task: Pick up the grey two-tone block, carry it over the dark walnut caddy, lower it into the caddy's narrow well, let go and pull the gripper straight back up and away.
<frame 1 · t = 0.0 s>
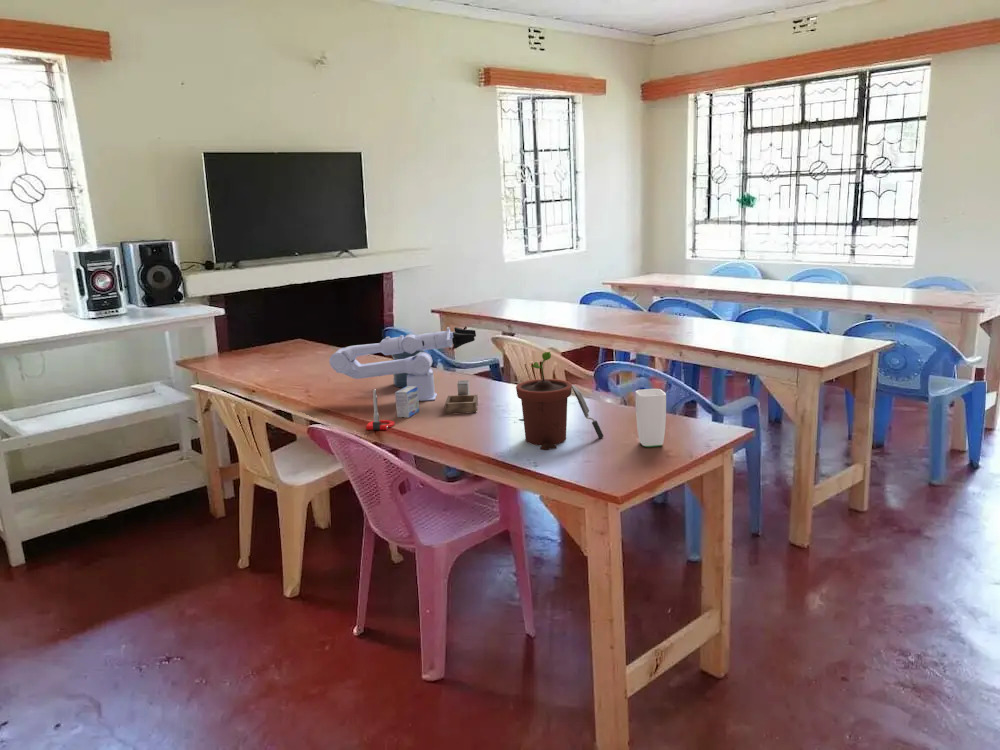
hand: (474, 335, 271), 22 cm above the table, tool horizontal, fingers open, 7 cm apart
canister: (411, 384, 298), on the table
potted plant: (555, 440, 223), on the table
grey two-tone block: (464, 401, 269), on the table
cup: (651, 445, 216), on the table
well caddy: (462, 409, 260), on the table
tow hook: (380, 427, 246), on the table
medicine box: (408, 415, 257), on the table
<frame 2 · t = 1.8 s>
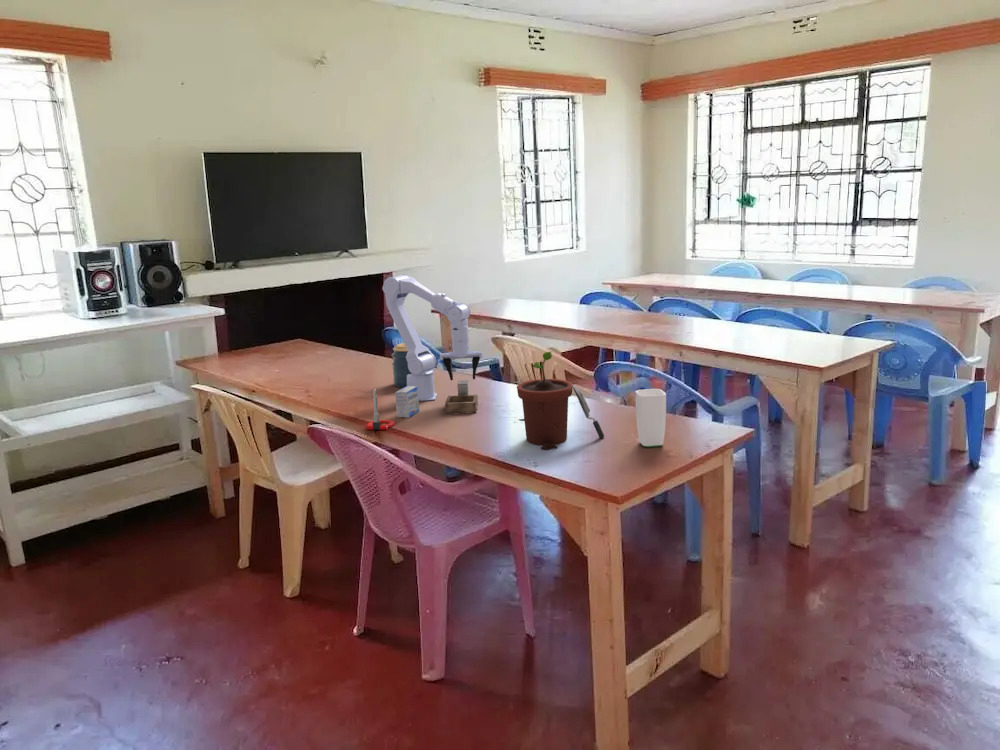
hand: (462, 379, 267), 8 cm above the table, tool pointing down, fingers open, 7 cm apart
nothing on the table moved.
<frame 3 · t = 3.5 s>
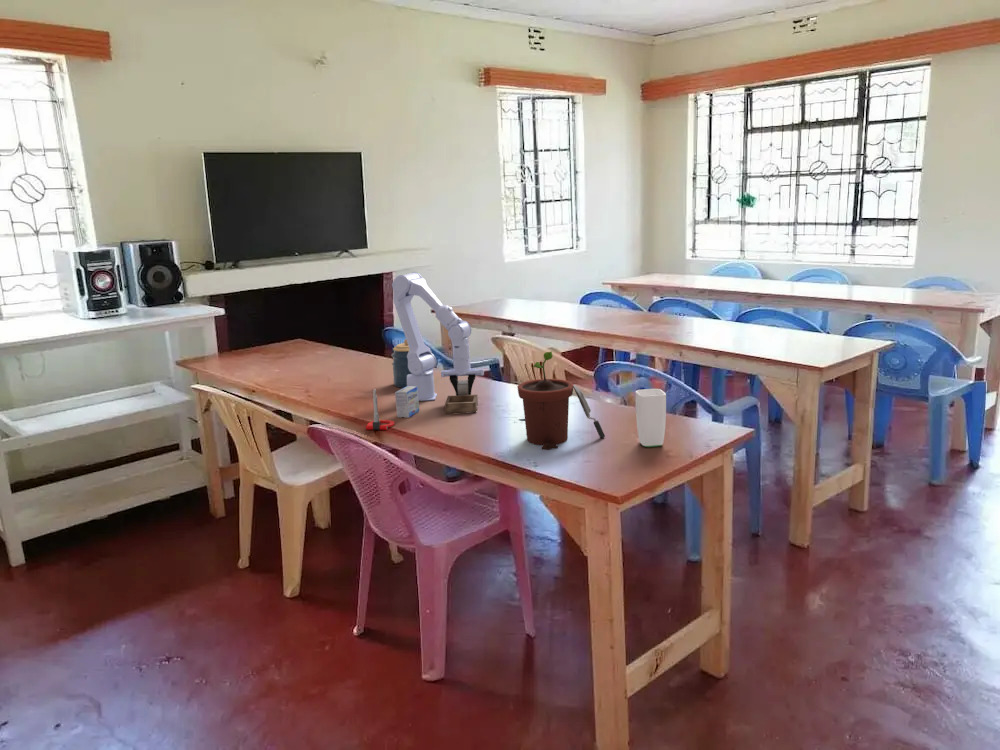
hand: (463, 396, 269), 2 cm above the table, tool pointing down, fingers closed on grey two-tone block, 3 cm apart
grey two-tone block: (464, 401, 269), on the table, touching gripper
everything else where it was.
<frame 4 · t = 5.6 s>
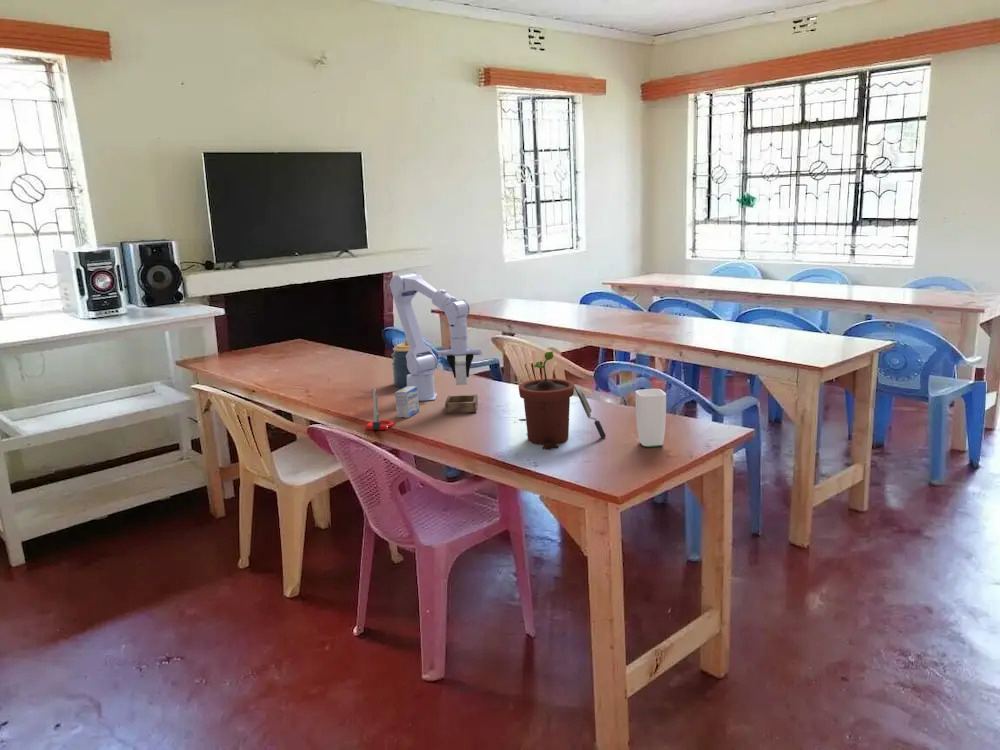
hand: (461, 377, 262), 10 cm above the table, tool pointing down, fingers closed on grey two-tone block, 3 cm apart
grey two-tone block: (462, 383, 263), point 8 cm above the table, touching gripper
everything else where it was.
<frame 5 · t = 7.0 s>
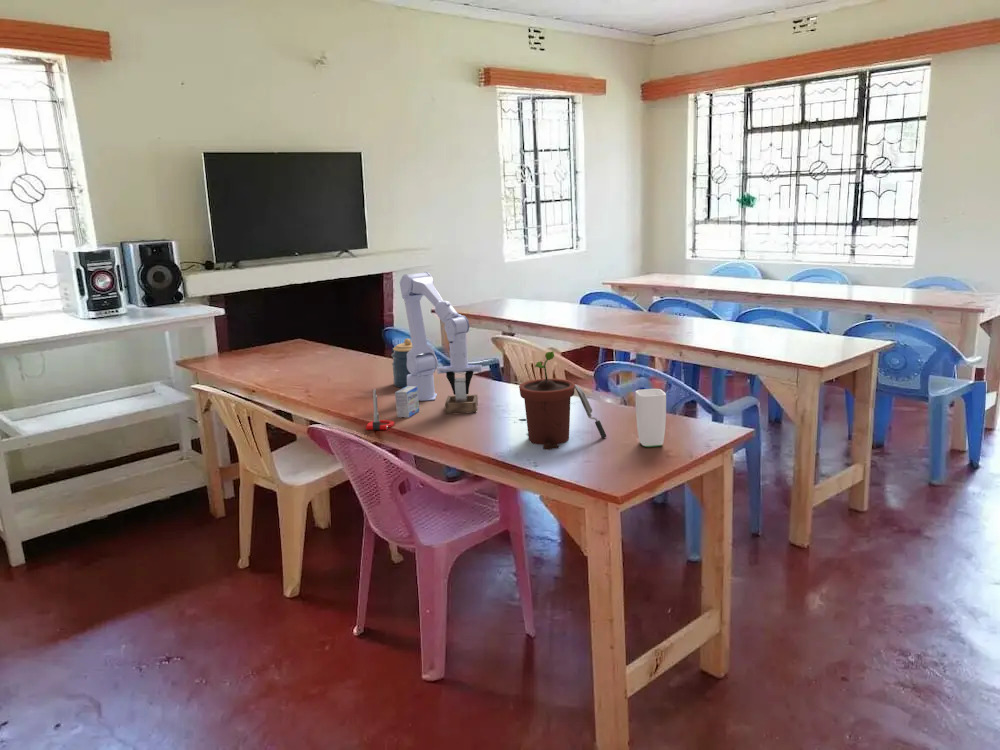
hand: (461, 393, 259), 5 cm above the table, tool pointing down, fingers closed on grey two-tone block, 3 cm apart
grey two-tone block: (461, 399, 260), point 3 cm above the table, touching gripper
everything else where it was.
when the fingers open (4 cm above the table, at t = 8.2 s): grey two-tone block drops 1 cm, resting on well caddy.
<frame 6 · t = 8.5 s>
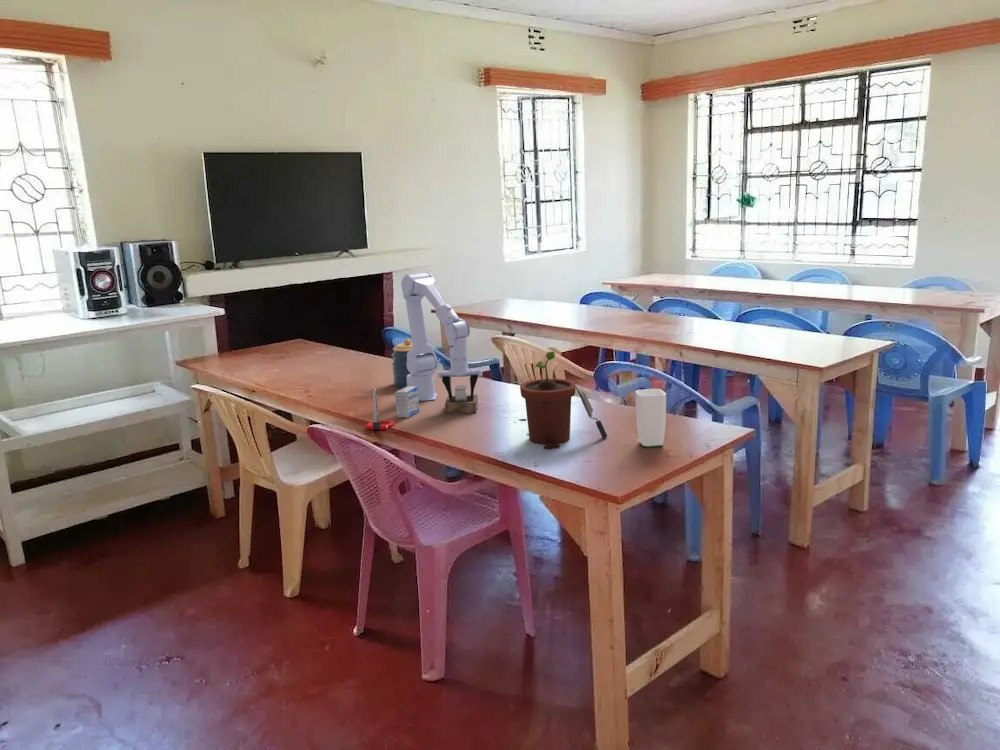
hand: (461, 397, 259), 4 cm above the table, tool pointing down, fingers open, 6 cm apart
grey two-tone block: (462, 407, 260), resting on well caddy
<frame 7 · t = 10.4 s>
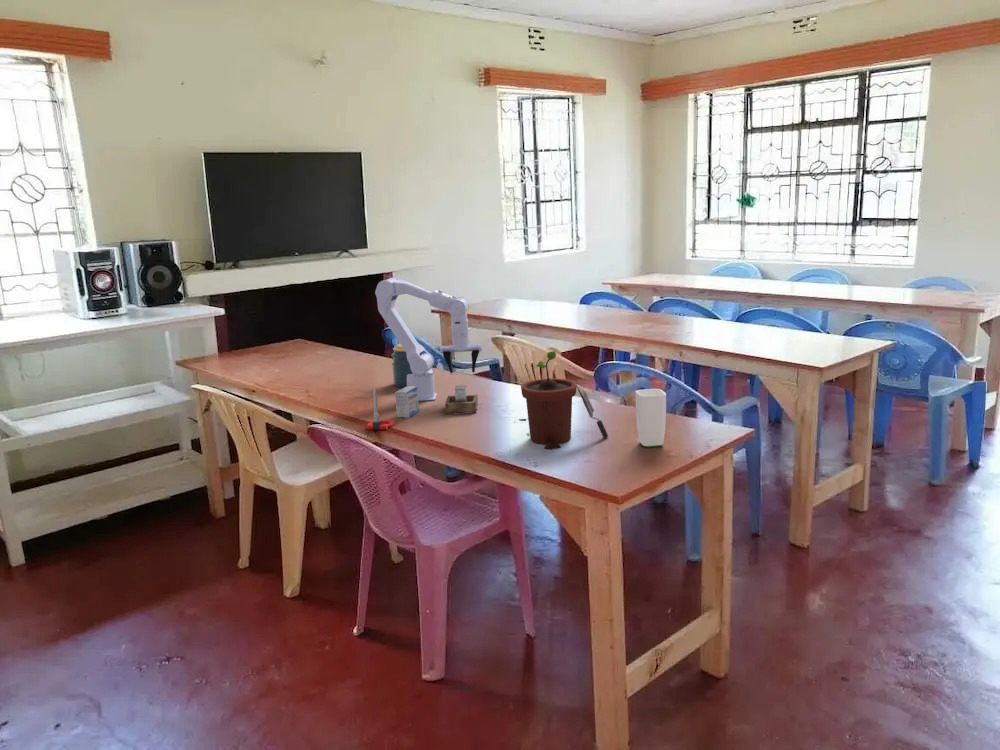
hand: (462, 372, 272), 9 cm above the table, tool pointing down, fingers open, 7 cm apart
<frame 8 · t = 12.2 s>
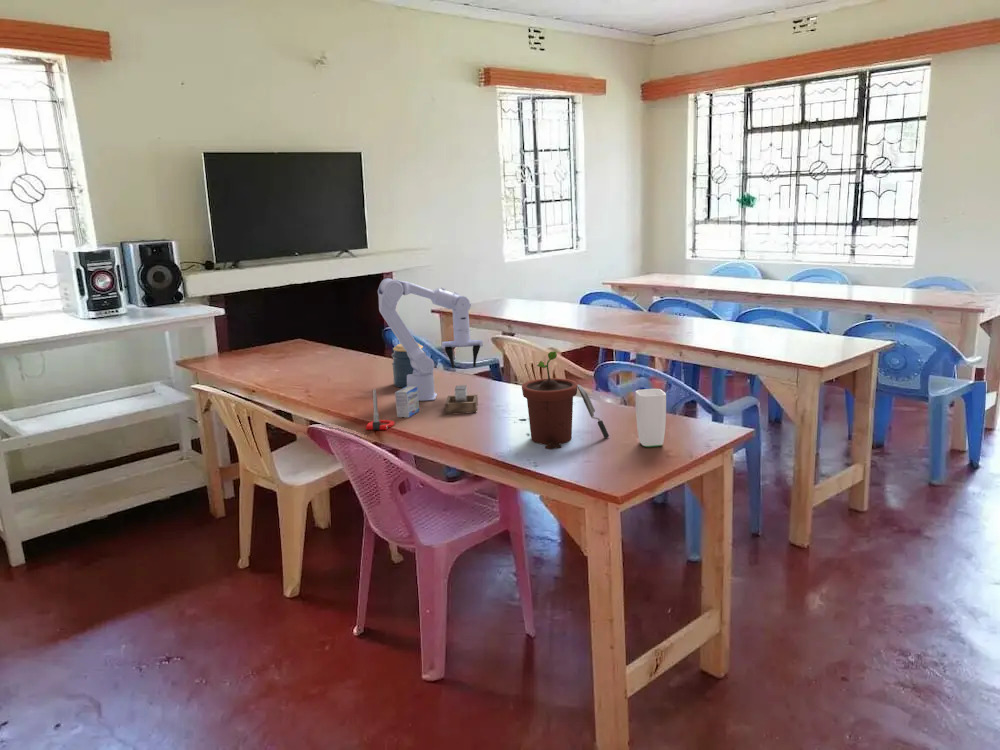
hand: (463, 366, 280), 9 cm above the table, tool pointing down, fingers open, 7 cm apart
at the end: grey two-tone block 0.3 cm off-centre on the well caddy, point 0.5 cm above the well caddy's base; grey two-tone block tilted 0°; the gripper is holding nothing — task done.
